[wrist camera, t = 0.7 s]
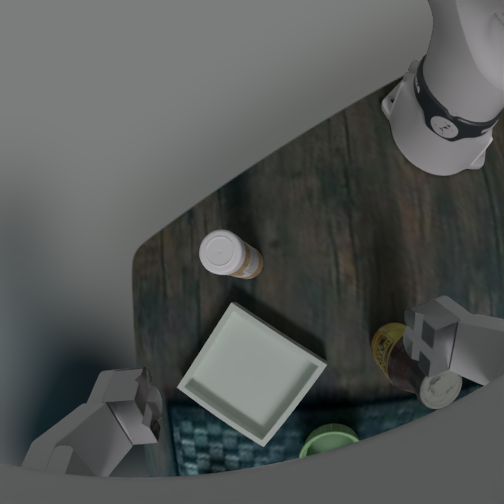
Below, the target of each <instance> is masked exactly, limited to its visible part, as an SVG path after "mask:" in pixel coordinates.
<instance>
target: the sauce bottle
mask: <svg viewBox="0 0 504 504" xmlns="http://www.w3.org/2000/svg"><path fill="white" fill-rule="evenodd" d="M406 327H407V325H404V324H402V323H386V324H384V325H382V326H381V327H380V328H379V329H378V330H377V331H376V332H375V333H374V335H373V338H372V343H371V351H372V355H373V358H374V359H375V361H376V362H377V364H378V365H379V367H380V368H381V369H382V371H383V372H384V373H385V375H386V376H387V378H388V379H389V380H390V382H391V383H392V384H393V386H395V387H396V388H398V389H401V390H405V391H408V392H412V393H416V395H417V397H418V399H419V400H420V401H421V402H422V403H423V404H424V405H425V406H426V407H428V408H432V409H439V408H443V407H445V406H447V405H449V404H450V403H451V402H452V401H454V399H455V398H456V397H457V396H458V394H459V392H460V389H461V386H462V377H461V375H458V374H456V373H454V372H451V371H449V370H450V369H449V370H447V371H444V372H442V373H440V374H437V375H435V376H432V377H430V378H428V377H427V376H426V375H425V374H424V373H423V372H422V370H421V369H420V368H419V367H418V362H419V361H417V360H414V359H411V358H410V356H409V355H408V354H407V352H406V350H405V347H404V342H403V332H404V331H405V329H406Z"/></svg>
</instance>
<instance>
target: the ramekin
mask: <svg viewBox="0 0 504 504" xmlns="http://www.w3.org/2000/svg"><path fill="white" fill-rule="evenodd" d="M358 441H360V440H359V438H358V436H357V434H356V433H355V432H354V431H353V430H352V429H351V428H349V427H347V426H345V425H342V424H327V425H323V426H321V427H319V428H317V429H315V430H314V431H313V432H311V434H310V435H309V436H308V438H307V439H306V441H305V444H304V446H303V448H302V449H301V452H300V455H299V458H302V457H306V456H310V455H314V454H318V453H321V452H325V451H329V450H332V449H335V448H339V447H342V446H345V445H349V444H352V443H355V442H358Z"/></svg>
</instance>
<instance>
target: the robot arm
mask: <svg viewBox="0 0 504 504" xmlns="http://www.w3.org/2000/svg"><path fill="white" fill-rule="evenodd" d="M428 2H429V5H430V8H431V11H432V16H433V30H432V36H431V40H430V45H429V48H428V52H427V54H426V55H425V56H424V57H423V58H422V60H421V61H420V62H417V61H416V60H414V61H413V62H412V63H411V65H410V67H409V69H408V71H409V73H408V72H407V73H406V74H405V75H404V77H403V80H402V81H401V82H400V83H399V84H398V85H397V86H396V87H395V88H394V89H393V90H392V91H391V92H390V93H389V94H388V95H387V96H386V97H385V98H384V99H383V101H382V103H381V109H382V111H383V112H384V114H385V115H386V117H387V118H388V120H389V122H390V126H391V131H392V135H393V138H394V140H395V143H396V145H397V146H398V148H399V149H400V151H401V152H402V154H403V155H404V156H405V157H406V158H407V159H408V160H409V161H410V162H411V163H412V164H414V165H415V166H417V167H418V168H420V169H422V170H424V171H426V172H428V173H431V174H435V175H443V176H444V175H452V174H456V173H458V172H460V171H462V170H464V169H479V168H481V167H482V166H483V164H484V160H485V150H486V148H487V147H488V146H489V144H490V143H491V142H492V139H493V138H492V128H493V126H494V125H495V124H496V123H497V121H498V119H499V117H500V116H501V113H502V109H503V108H504V24H503V23H502V22H501V20H500V19H499V18H498V16H497V14H496V13H499V14H502V15H504V0H428ZM391 101H394V102H391ZM404 321H405V322H406V324H407V325H408V326H407V327H406V329H405V331H404V332H403V342H404V347H405V350H406V352H407V354H408V355H409V356H410V358H411V359H414V360H417V361H419V362H418V367H419V368H420V369H421V370H422V372H423V373H424V374H425V375H426V376H427V377H428V378H430V377H432V376H435V375H437V374H440V373H442V372H444V371H447V370H449V369H450V370H449V371H451V372H454V373H456V374H458V375H461V376H463V377H465V378H468V379H470V380H472V381H475V382H477V383H480V384H482V385H484V386H483V387H481V388H480V389H478V390H476V391H474V392H472V393H470V394H469V395H467V396H465V397H463V398H461V399H459V400H457V401H455V402H453V403H451V404H449V405H447V406H445V407H443V408H441V409H439V410H437V411H434V412H432V413H430V414H428V415H426V416H423V417H421V418H419V419H416V420H414V421H412V422H409V423H407V424H404V425H402V426H399V427H397V428H394V429H392V430H389V431H386V432H384V433H381V434H378V435H375V436H373V437H370V438H367V439H364V440H361V441H358V442H355V443H352V444H349V445H345V446H342V447H339V448H335V449H332V450H329V451H325V452H321V453H318V454H314V455H310V456H306V457H302V458H298V459H293V460H289V461H284V462H280V463H275V464H270V465H265V466H259V467H253V468H247V469H241V470H234V471H227V472H219V473H211V474H201V475H190V476H175V477H152V478H116V477H108V475H109V474H110V473H111V472H112V471H113V469H114V468H115V467H116V466H117V464H118V463H119V462H120V461H121V460H122V458H123V457H124V456H125V455H126V453H127V452H128V451H129V450H130V448H131V447H132V446H133V445H132V444H146V443H157V442H158V439H159V432H160V425H159V423H158V420H159V419H160V418H161V417H162V411H163V408H162V400H161V396H160V393H159V391H158V389H157V388H156V387H155V386H153V385H152V384H151V381H152V376H151V374H150V372H149V369H148V368H146V367H139V368H129V369H118V370H109V371H102V372H101V373H100V374H99V377H98V379H97V381H96V383H95V386H94V388H93V390H92V393H91V395H90V397H89V400H88V402H87V404H82V405H80V406H79V407H78V408H77V409H76V410H74V411H73V412H71V413H70V414H69V415H67V416H66V417H65V418H63V419H62V420H61V421H60V422H58V423H57V424H56V425H55V426H53V427H52V428H50V429H49V430H48V431H46V432H45V433H44V434H42V435H41V436H40V437H39V438H37V439H36V440H35V441H33V442H32V444H31V446H30V449H29V451H28V453H27V455H26V457H25V459H24V462H23V464H22V466H21V467H17V466H12V465H7V464H3V463H0V504H504V319H500V318H495V317H490V316H484V315H479V314H475V315H472V314H471V313H469V312H468V311H467V310H465V309H464V308H463V307H461V306H460V305H459V304H457V303H456V302H454V301H453V300H452V299H450V298H449V297H447V296H441V297H438V298H436V299H433V300H431V301H428V302H426V303H423V304H420V305H417V306H414V307H411V308H408V309H406V311H405V316H404Z"/></svg>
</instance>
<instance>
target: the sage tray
mask: <svg viewBox="0 0 504 504" xmlns="http://www.w3.org/2000/svg"><path fill="white" fill-rule="evenodd" d="M326 366H327V361H326V360H325V359H323V358H321V357H320V356H318V355H317V354H315V353H313V352H312V351H310V350H309V349H307V348H305V347H304V346H302V345H301V344H299V343H298V342H296V341H294V340H293V339H291V338H290V337H288V336H287V335H285V334H284V333H282V332H281V331H279V330H277V329H276V328H274V327H273V326H271V325H270V324H268V323H267V322H265V321H264V320H262V319H261V318H259V317H258V316H256V315H255V314H253V313H252V312H250V311H249V310H247V309H246V308H244V307H243V306H241V305H240V304H238V303H237V302H231V304H230V305H229V307H228V309H227V310H226V312H225V313H224V315H223V316H222V318H221V320H220V321H219V323H218V324H217V326H216V327H215V329H214V331H213V332H212V334H211V335H210V337H209V338H208V340H207V342H206V343H205V345H204V346H203V348H202V349H201V351H200V353H199V354H198V356H197V357H196V359H195V360H194V362H193V363H192V365H191V367H190V368H189V370H188V371H187V373H186V374H185V376H184V377H183V379H182V381H181V382H180V384H179V385H178V387H177V388H179V389H180V390H181V391H182V392H184V393H185V394H186V395H188V396H189V397H190V398H192V399H193V400H195V401H196V402H197V403H199V404H200V405H201V406H203V407H204V408H206V409H207V410H208V411H210V412H211V413H213V414H214V415H215V416H217V417H218V418H220V419H221V420H223V421H224V422H226V423H227V424H229V425H230V426H232V427H233V428H235V429H236V430H238V431H239V432H241V433H242V434H244V435H245V436H247V437H248V438H250V439H252V440H253V441H255V442H256V443H258V444H260V445H261V446H263V447H264V446H265V445H266V444H267V442H268V441H269V440H270V439H271V438H272V436H273V435H274V434H275V433H276V432H277V430H278V429H279V428H280V427H281V425H282V424H283V423H284V422H285V420H286V419H287V418H288V417H289V415H290V414H291V413H292V411H293V410H294V409H295V408H296V406H297V405H298V404H299V402H300V401H301V400H302V398H303V397H304V396H305V394H306V393H307V392H308V390H309V389H310V388H311V386H312V385H313V384H314V382H315V381H316V380H317V378H318V377H319V375H320V374H321V373H322V371H323V370H324V368H325V367H326Z"/></svg>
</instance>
